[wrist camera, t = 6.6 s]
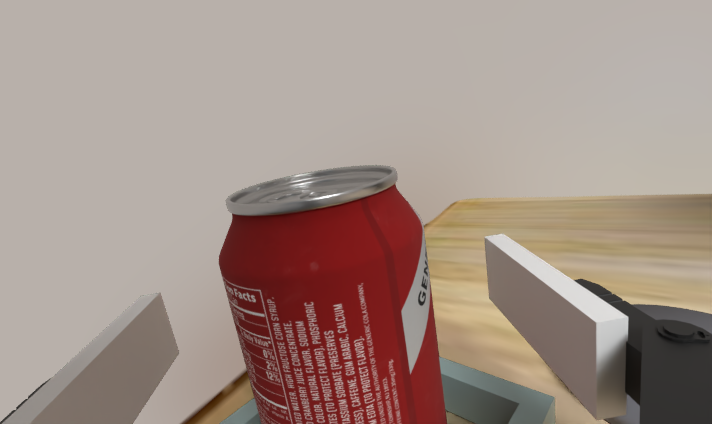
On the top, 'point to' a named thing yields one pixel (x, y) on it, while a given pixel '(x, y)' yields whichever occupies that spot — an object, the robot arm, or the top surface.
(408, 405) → the soda can
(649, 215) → the top surface
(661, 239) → the top surface
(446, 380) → the holder
